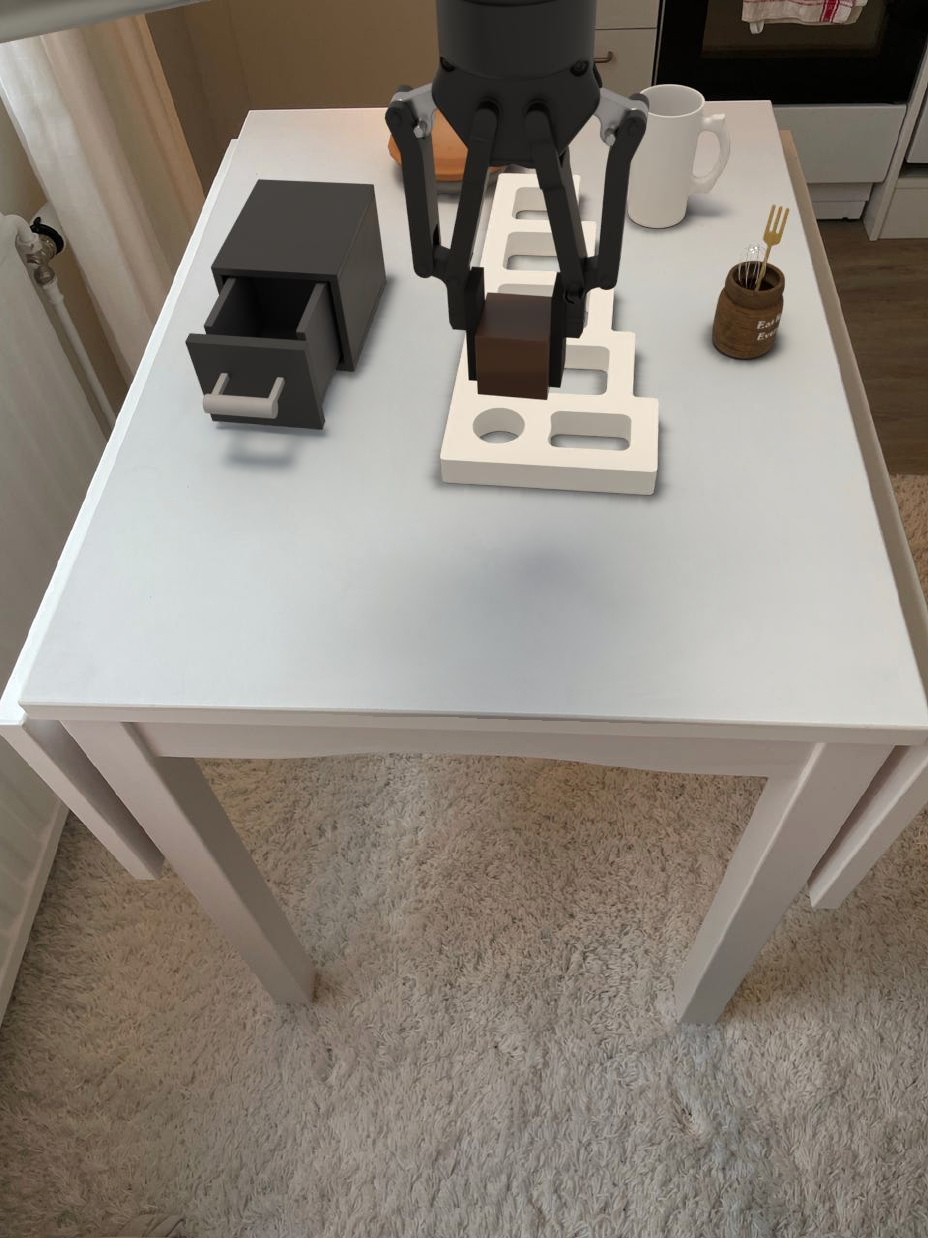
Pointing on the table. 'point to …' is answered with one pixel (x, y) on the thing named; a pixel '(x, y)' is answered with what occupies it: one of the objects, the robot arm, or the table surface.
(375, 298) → the cabinet
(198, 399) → the table surface
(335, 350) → the drawer
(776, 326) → the utensil holder
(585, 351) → the holder
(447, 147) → the pie
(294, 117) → the table surface
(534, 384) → the block
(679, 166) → the mug
